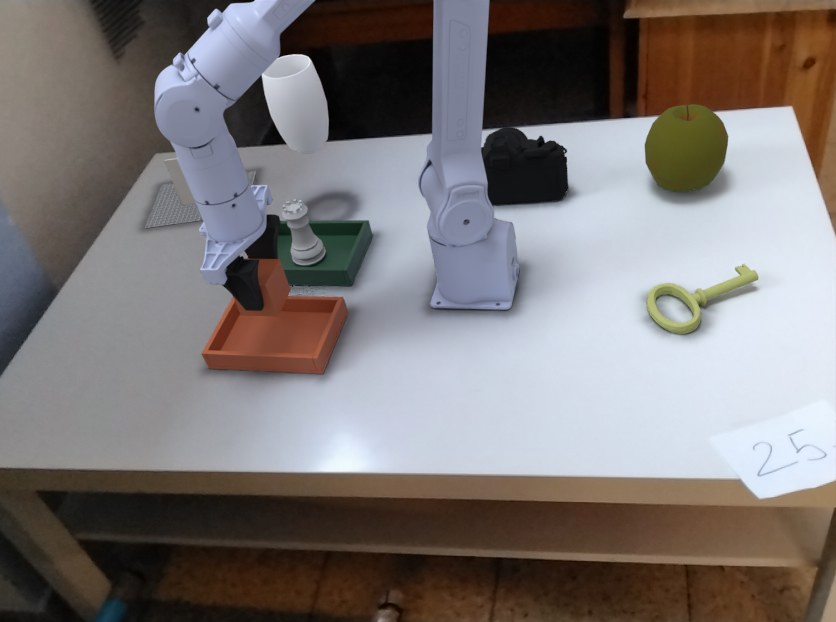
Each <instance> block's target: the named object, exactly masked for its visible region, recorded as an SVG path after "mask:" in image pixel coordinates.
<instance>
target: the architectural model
mask: <svg viewBox="0 0 836 622" xmlns="http://www.w3.org/2000/svg"><path fill="white" fill-rule="evenodd" d="M163 162H164V165H165V168H167V172H168V174H169V176H170V178H171V182H172V183H165V184H161V186H160V189H159V191H158V194H157V195H156V196H157V197H156V199H155V202H154V203H153V206H152V209H151V212H150V214H149V216H148V218H147V221H146V224H145V226H144V229H149V228H157V227H163V226H169V225H171V226H172V225H178V224H184V223H191V222H198V221H203V219H202V217H201V214H200V212H199V210H198V207H197V205H196V203H195V200H194V198H193V196H192V194H191V191H190V189H189V187H188V184H187V182H186V180H185V177H184V175H183V173H182V170H181V168H180V166H179V163H178V161H177V158H176V157H174V158H168V159H163ZM246 174H247V177H248V179H249V182H250V185H251V186H252V185H254V182H255V178H256V174H257V170H254V171H246Z"/></svg>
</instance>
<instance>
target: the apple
mask: <svg viewBox="0 0 836 622" xmlns="http://www.w3.org/2000/svg"><path fill="white" fill-rule="evenodd" d="M728 145H729V133H728V131H727V129H726V125H725V123H724V121H723V120H722V119H721V118H720V117H719V115H717V113H715V112H714V111H713V110H711V109H710V108H708V107H707V106H705V105H701V104H697V103H696V104H694V103H693V104H692V103H691V104H688V103H687V104H682V105H675V106H672V107H669V108H667V109H665V110H664V111H663V112H662V113H661V114H660V115H658V116H657V118H655V120H654V121H653V122H652V124H651V126H650V128H649V130H648V134H647V135H646V137H645V142H644V158H645V159H644V160H645V165H646V167H647V168H648V171H649V173H650V175H651V177H652V179H653V181H654V183H655V184H656V186H657V187H659V188H661V189H662V190H664V191H667V192H668V191H669V192H674V193H682V192H683V193H685V192H692V191H697V190H701V189H703V188H704V187H705V188H706V187H707V186H709V185H710V184H711V183H712V182H713V181H714V180H715V178H716V177H717V175H718V174H719V172H720V171H721V169H722V168H723V166H724V164H725V162H726V156H727V151H728Z"/></svg>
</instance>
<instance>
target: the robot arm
mask: <svg viewBox="0 0 836 622" xmlns="http://www.w3.org/2000/svg"><path fill="white" fill-rule="evenodd" d="M315 1H316V0H254V1H251V2H235V3H234V2H233V3H230V4H229V5H228V6H227V7H226V8H225V10H223V12H221V10H219V9H218V8H215V9H214V10H213V11H212V12H211V13H210V14H209V15H208V17H207V18H206V19H207V26H208V28H207V29H206V31H204V33H203V34H202V35H201V36H200V37H199V38H198V39H197V41H195V43H194V44H193V45H192V46H191V47H190V48H189V49H188V51H187V52H186V53H185V54H184V53H182V52H179V53H178V54H177V55H175V57H173V59H172V64H170V65H168V66H166V67H165V68H164V69H163V70H162V71H161V72H160V73H159V74H158V76H157V78H156V79H155V84H154V101H153V103H154V107H153V108H154V111H153V113H154V119H155V123H156V126H157V129H158V130H159V131H160V133H161V135H162V136H163V137H164V138H165V139H166V140H168V141H169V142H170V144H171V147H172V148H173V150H174V152H175V155H176V156H175V158H177V161H178V163H179V166H180V168H181V170H182V173H183V175H184V177H185V180H186V182H187V184H188V187H189V189H190V191H191V194H192V196H193V198H194V200H195V203H196V205H197V207H198V210H199V212H200V214H201V217H202V219H203V220H202V221H203V222H202V223H201V225H200V227H199V228H198V232H199V234H200V236H202V237H206V238H205V248H204V257H203V262H202V265H201V266H200V268H199V271H200V274H201V276H202V278H203V280H204V282H205V284H206V285H213V286H217V285H219V286H222V287H223V288H224V289H226V290H227V292H229V293H230V294H231V296H232V295H233V296H234V297H235V298H236V299H237V301H238V302H239V303H240V304H241V305H242V307H243V308H244V309H245V310H246V311H262V309H263V307H264V302H263V296H262V293H261V289H260V285H259V280H258V264H259V260H252V259H278V252H277V243H278V233H279V228H280V224H281V221H282V220H281V218H280V217H279V215H278V214H275V213H273V214H271V213H269V214H267V213H268V212H267V211H268V209H267V208H268V206H270V205H271V204H272V203H273V201H274V198H273V194H272V192H271V190H270V185H269V184H253V185H252V186H251V185H250V182H249V179H248V177H247V174H246V172H247V171H246V169H245V166H244V163H243V161H242V157H241V156H240V152H239V150H238V147H237V144H236V142H235V141H236V140H235V139H234V138H233V136H232V135H231V133H230V132H229V128H228V126H227V123H226V120H225V117H224V113H225V110H226V109H228V108H230V107H231V106H233V105H234V104H235V103H237V101H238V100H239V99H240V98H241V97H242V96H243V95H244V93H246V92H247V91H248V90H249V89H250V88H251V86H253V84H254V83H255V82H256V81H257V80H258V79H259V78H260V77H262V74H263V73H264V72H265V70H266V69H267V68H268V67H269V66H270V65H271V64H272V63H273V62H274V61H275V60H276V59H277V58H280V55H281V40H280V39H281V34H282V33H283V32H284V31H285V30H286V29H287V28H288V27H289V26H290V25H291V24H292V23H293V22H294V21H295V20H296V19H298V18H299V16H300V15H302V14H303V13H304V12H305V11H306V10H307V9H308V8H309V7H310V6H311V5H312V4H313V3H314V2H315ZM489 14H490V0H433V19H432V20H433V26H432V27H433V29H432V31H433V33H432V35H433V36H432V107H431V108H432V109H431V110H432V112H431V113H432V114H431V115H432V116H431V118H432V119H431V120H432V121H431V141H429V143H428V144H427V145H426V158H425V162H424V164H423V166H422V167H421V169H420V171H419V174H418V178H417V185H418V189H419V192H420V194H421V195H422V197H423V198H424V201H425V202H426V205H427V207H428V209H429V211H430V213H429V217H428V219H427V224H426V230H427V235H428V240H429V245H430V249H431V254H432V259H433V265H434V269H435V275H436V280H437V281H436V283H435V288H434V291H433V293H432V296H431V299H430V303H429V305H430V307H431V309H432V308H433V309H458V310H459V309H463V310H464V309H465V310H503V311H505V310H510V309H511V308H512V305H513V301H514V295H515V291H516V287H517V282H518V279H519V273H520V269H521V266H520V265H521V264H520V263H519V258H518V249H517V248H518V247H517V238H516V232H515V231H516V230H515V225H514V223H513V222H512V221H510V220H509V221H508V220H502V219H498V218H496V217H495V210H494V205H492V204H491V202H490V201H489V199H488V195H487V186H488V182H487V177H486V172H485V168H484V163H483V159H482V154H481V147H482V138H483V122H484V121H483V120H484V106H485V105H484V103H485V89H486V88H485V85H486V67H487V50H488V49H487V48H488V34H489V33H488V32H489V31H488V30H489V29H488V28H489ZM242 253H245V254H246V256H247V258H249V259H247V258H245V257H244V255H241V254H242ZM233 296H232V297H233Z"/></svg>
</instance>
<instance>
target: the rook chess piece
mask: <svg viewBox="0 0 836 622" xmlns="http://www.w3.org/2000/svg"><path fill="white" fill-rule="evenodd" d="M285 203H286V204H283V205H282V212H281V216H282V218H284V220H285V221H288V223H287V225H288V227H289V228H290V229H291V233H292V247H291V255H292V259H293V261H294V262H295V263H296V264H298V265H300V266H312V265H315V264H317V263H318V262H320V261H321V260H322V259H323V257H324V255H325V252H326V250H325V247H323V246H324V245H323V242H322V241H321V240H320V239H319V238H317V236H316V235H314V233H313V231H312V229H311V227H310V225H309V223H308V222H309V221H310V218H309V216H308V215H307V213H308V210H309V208H308V206H307V205H305V204H304V203H303V201H302V200H301V199H299V200H298V199H297V198H295V199H294V198H293V199H292V203H291V201H290V200H287V201H286V202H285Z"/></svg>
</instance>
